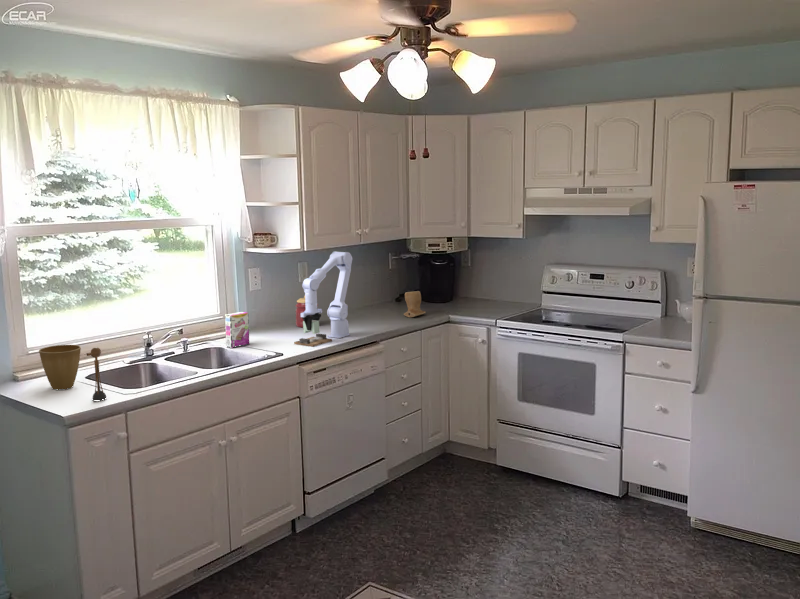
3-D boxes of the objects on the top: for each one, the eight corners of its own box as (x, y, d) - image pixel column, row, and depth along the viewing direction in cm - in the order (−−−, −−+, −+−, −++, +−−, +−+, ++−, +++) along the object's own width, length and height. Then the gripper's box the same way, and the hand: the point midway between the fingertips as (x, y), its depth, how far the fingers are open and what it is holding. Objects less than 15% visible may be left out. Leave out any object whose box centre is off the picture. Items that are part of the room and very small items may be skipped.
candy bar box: (232, 348, 347) (230, 315, 345) (225, 347, 350) (223, 314, 348) (250, 344, 356) (248, 312, 353) (244, 343, 359) (242, 311, 356)
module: (308, 331, 361) (308, 319, 360) (319, 332, 357) (318, 320, 356) (303, 332, 357) (302, 320, 357) (314, 333, 354) (313, 321, 353)
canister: (315, 322, 411) (314, 292, 408) (321, 326, 399) (320, 295, 396) (293, 324, 406) (292, 293, 403) (299, 328, 394) (298, 297, 391)
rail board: (313, 338, 368) (313, 332, 367) (331, 340, 361) (331, 335, 361) (294, 344, 355) (293, 338, 355) (313, 346, 349) (312, 340, 348)
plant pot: (65, 394, 274) (62, 353, 272) (33, 391, 278) (30, 351, 276) (92, 383, 288) (88, 345, 286) (61, 381, 292) (57, 343, 290)
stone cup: (411, 313, 437) (411, 288, 435) (428, 314, 431) (428, 290, 428) (398, 317, 424) (397, 292, 422) (415, 318, 418) (415, 293, 416)
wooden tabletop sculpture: (95, 402, 262) (90, 349, 259) (87, 401, 265) (82, 348, 262) (109, 398, 267) (104, 346, 264) (101, 397, 270) (97, 345, 266)
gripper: (314, 299, 363) (315, 326, 365) (295, 303, 351) (296, 331, 353) (325, 300, 359) (325, 327, 361) (306, 305, 347) (307, 332, 349)
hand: (312, 329), depth 357 cm, fingers closed on module, 4 cm apart
